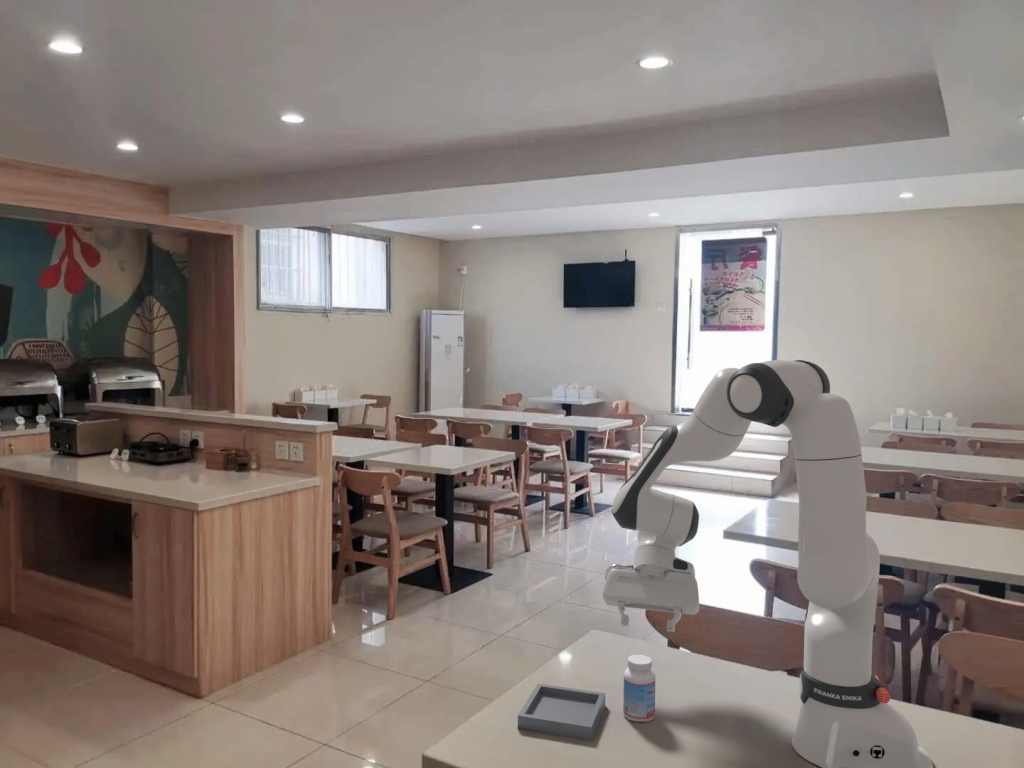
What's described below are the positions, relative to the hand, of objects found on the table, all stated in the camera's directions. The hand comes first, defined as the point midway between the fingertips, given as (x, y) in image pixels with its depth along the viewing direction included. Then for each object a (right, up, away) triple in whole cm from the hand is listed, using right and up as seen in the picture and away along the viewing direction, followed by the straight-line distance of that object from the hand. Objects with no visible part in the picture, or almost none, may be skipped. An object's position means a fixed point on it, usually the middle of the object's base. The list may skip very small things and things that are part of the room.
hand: (647, 627), depth 157 cm
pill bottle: (-3, -14, -9) cm, 17 cm away
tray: (-18, -14, -10) cm, 25 cm away
